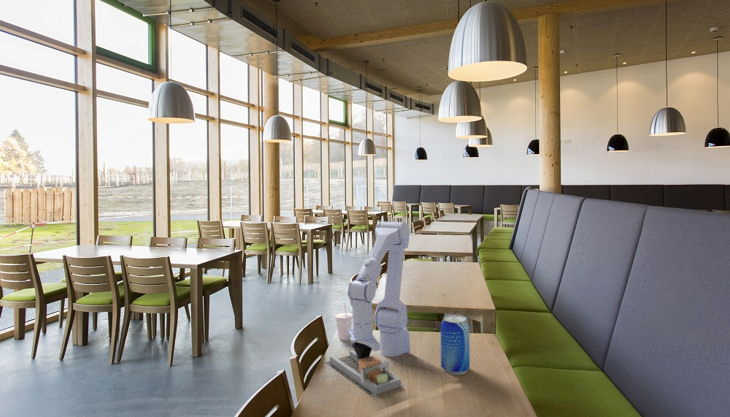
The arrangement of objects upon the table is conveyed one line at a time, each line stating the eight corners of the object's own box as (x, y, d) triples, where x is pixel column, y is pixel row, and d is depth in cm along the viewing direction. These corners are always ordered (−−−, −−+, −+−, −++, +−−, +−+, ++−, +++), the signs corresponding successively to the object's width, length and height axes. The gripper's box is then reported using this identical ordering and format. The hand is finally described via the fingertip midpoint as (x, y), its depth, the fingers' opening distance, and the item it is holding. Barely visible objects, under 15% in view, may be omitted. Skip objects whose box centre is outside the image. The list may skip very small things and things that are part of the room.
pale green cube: (383, 382, 122) (383, 372, 122) (389, 386, 120) (389, 376, 120) (374, 385, 121) (374, 375, 120) (381, 390, 118) (380, 379, 118)
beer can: (474, 369, 132) (474, 317, 130) (460, 379, 126) (459, 325, 124) (450, 361, 137) (450, 312, 136) (435, 371, 131) (435, 319, 130)
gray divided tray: (354, 357, 142) (354, 348, 142) (404, 388, 121) (404, 377, 121) (324, 366, 136) (324, 356, 136) (371, 401, 115) (371, 389, 115)
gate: (386, 380, 126) (386, 360, 126) (389, 382, 125) (388, 362, 124) (360, 389, 121) (360, 368, 121) (363, 391, 120) (363, 370, 120)
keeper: (373, 373, 128) (372, 353, 128) (386, 381, 123) (385, 360, 122) (358, 377, 125) (358, 357, 125) (371, 386, 120) (371, 365, 120)
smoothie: (351, 345, 153) (350, 306, 152) (333, 344, 154) (332, 305, 153) (355, 338, 159) (354, 301, 158) (338, 337, 160) (337, 300, 159)
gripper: (338, 317, 130) (339, 361, 131) (364, 331, 118) (366, 380, 119) (357, 313, 134) (359, 356, 135) (385, 326, 122) (386, 373, 123)
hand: (363, 367), depth 128 cm, fingers closed
